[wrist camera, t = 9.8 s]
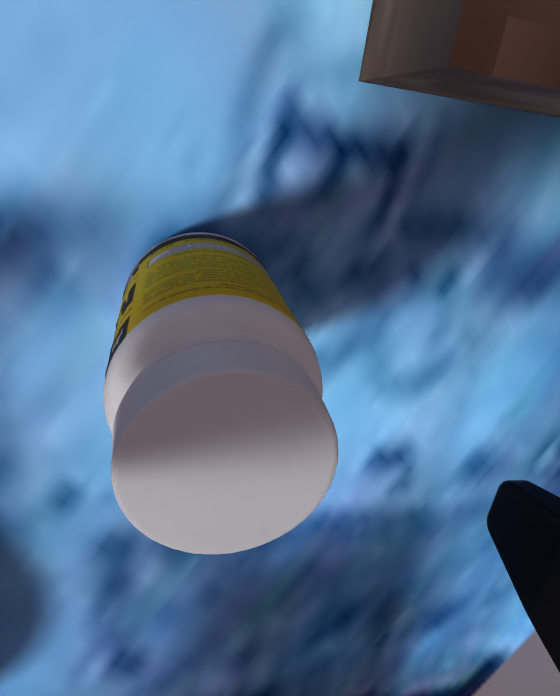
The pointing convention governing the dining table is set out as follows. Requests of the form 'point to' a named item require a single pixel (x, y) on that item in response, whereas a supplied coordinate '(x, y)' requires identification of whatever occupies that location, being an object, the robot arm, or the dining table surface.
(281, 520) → the supplement bottle
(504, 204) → the dining table surface
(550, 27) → the crate
